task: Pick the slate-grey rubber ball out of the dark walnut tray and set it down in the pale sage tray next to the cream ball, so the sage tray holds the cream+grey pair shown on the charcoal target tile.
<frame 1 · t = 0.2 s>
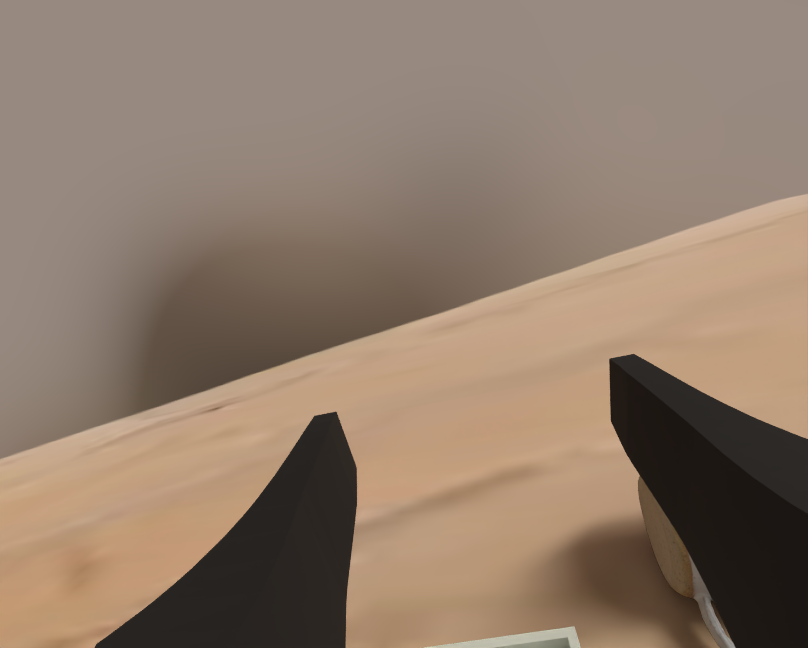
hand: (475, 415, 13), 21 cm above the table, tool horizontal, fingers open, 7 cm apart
ceramic mug: (745, 588, 28), on the table
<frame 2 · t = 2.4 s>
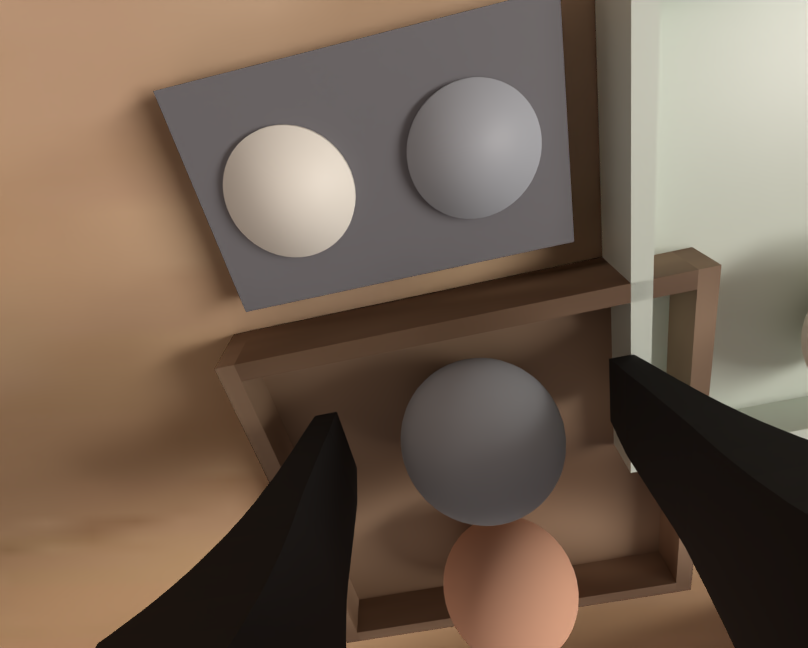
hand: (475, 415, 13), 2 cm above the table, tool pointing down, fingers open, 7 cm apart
terracotta ball: (496, 530, 17), resting on walnut tray
walnut tray: (481, 455, 16), on the table
target tile: (381, 163, 11), on the table
grey ball: (469, 390, 14), resting on walnut tray
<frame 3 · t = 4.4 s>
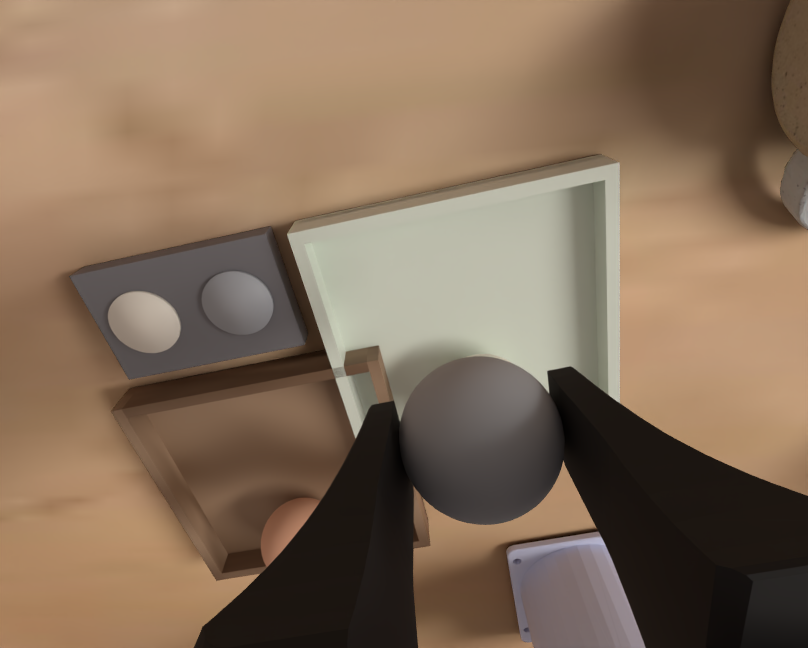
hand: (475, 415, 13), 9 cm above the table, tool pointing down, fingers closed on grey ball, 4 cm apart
terracotta ball: (308, 507, 26), resting on walnut tray
walnut tray: (292, 460, 25), on the table
sage tray: (467, 322, 22), on the table
target tile: (200, 301, 21), on the table
grey ball: (468, 389, 14), point 8 cm above the table, touching gripper
when the fingers open (3 cm above the table, at t = 6.0 s): grey ball drops 1 cm, resting on sage tray.
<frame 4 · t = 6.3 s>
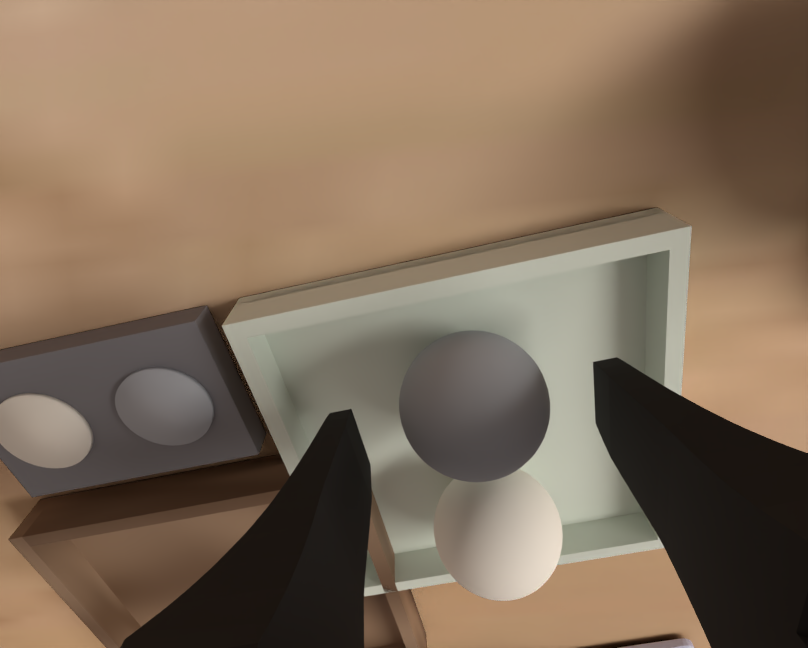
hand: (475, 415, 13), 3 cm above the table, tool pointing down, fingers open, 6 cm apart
cream ball: (485, 481, 17), resting on sage tray
walnut tray: (255, 574, 20), on the table
sage tray: (473, 417, 17), on the table
target tile: (121, 398, 16), on the table
grey ball: (462, 364, 15), resting on sage tray
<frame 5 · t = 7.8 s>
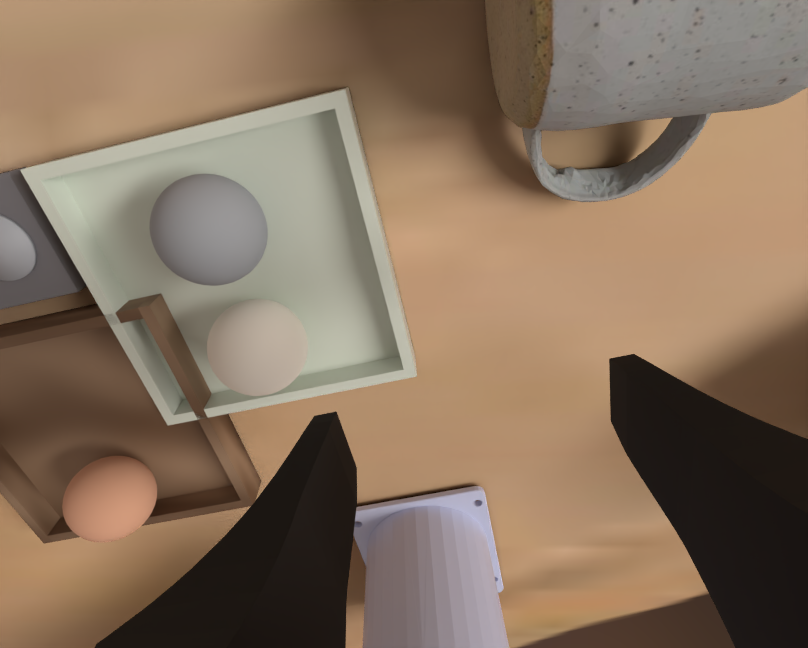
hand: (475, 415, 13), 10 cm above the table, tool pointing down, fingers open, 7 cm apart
terracotta ball: (130, 467, 26), resting on walnut tray
cream ball: (269, 324, 22), resting on sage tray
walnut tray: (107, 418, 25), on the table
sage tray: (252, 269, 21), on the table
ceramic mug: (599, 39, 18), on the table
grey ball: (225, 216, 20), resting on sage tray
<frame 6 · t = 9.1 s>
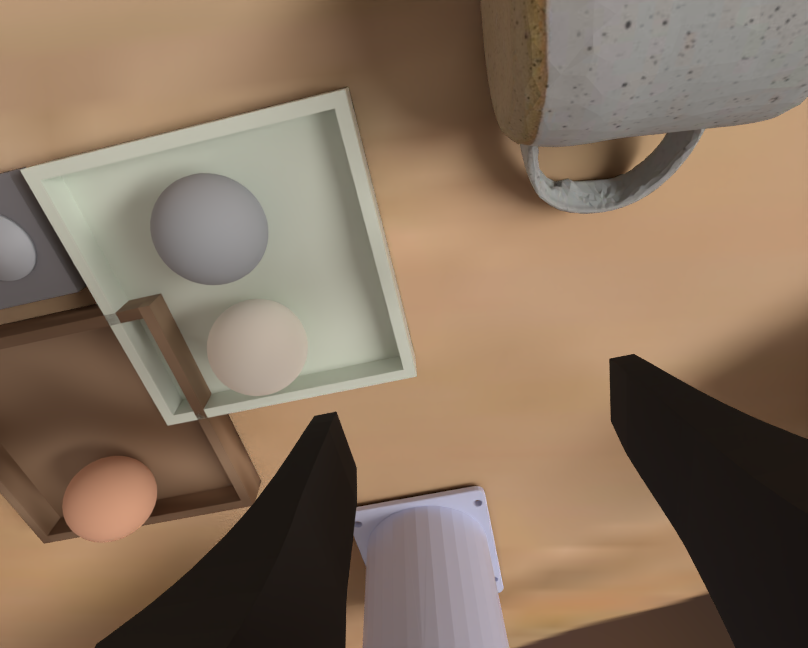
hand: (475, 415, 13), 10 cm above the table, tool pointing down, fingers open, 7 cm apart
terracotta ball: (130, 468, 26), resting on walnut tray
cream ball: (269, 324, 22), resting on sage tray
walnut tray: (107, 418, 25), on the table
sage tray: (252, 269, 21), on the table
ceramic mug: (595, 53, 18), on the table
grey ball: (225, 216, 20), point 1 cm above the table, touching sage tray
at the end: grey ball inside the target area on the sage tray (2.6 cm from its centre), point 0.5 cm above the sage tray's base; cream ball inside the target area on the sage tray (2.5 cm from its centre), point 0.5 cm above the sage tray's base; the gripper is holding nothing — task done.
